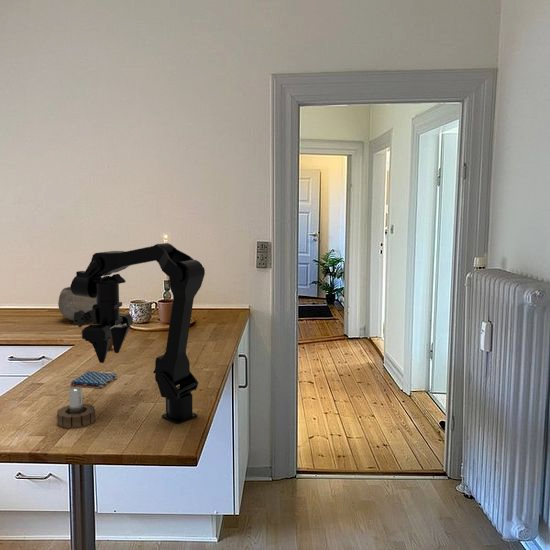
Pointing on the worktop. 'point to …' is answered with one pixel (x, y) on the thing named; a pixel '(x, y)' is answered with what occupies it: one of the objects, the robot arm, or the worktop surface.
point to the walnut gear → (76, 417)
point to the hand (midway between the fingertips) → (109, 357)
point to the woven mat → (94, 379)
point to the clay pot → (73, 303)
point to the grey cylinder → (75, 400)
